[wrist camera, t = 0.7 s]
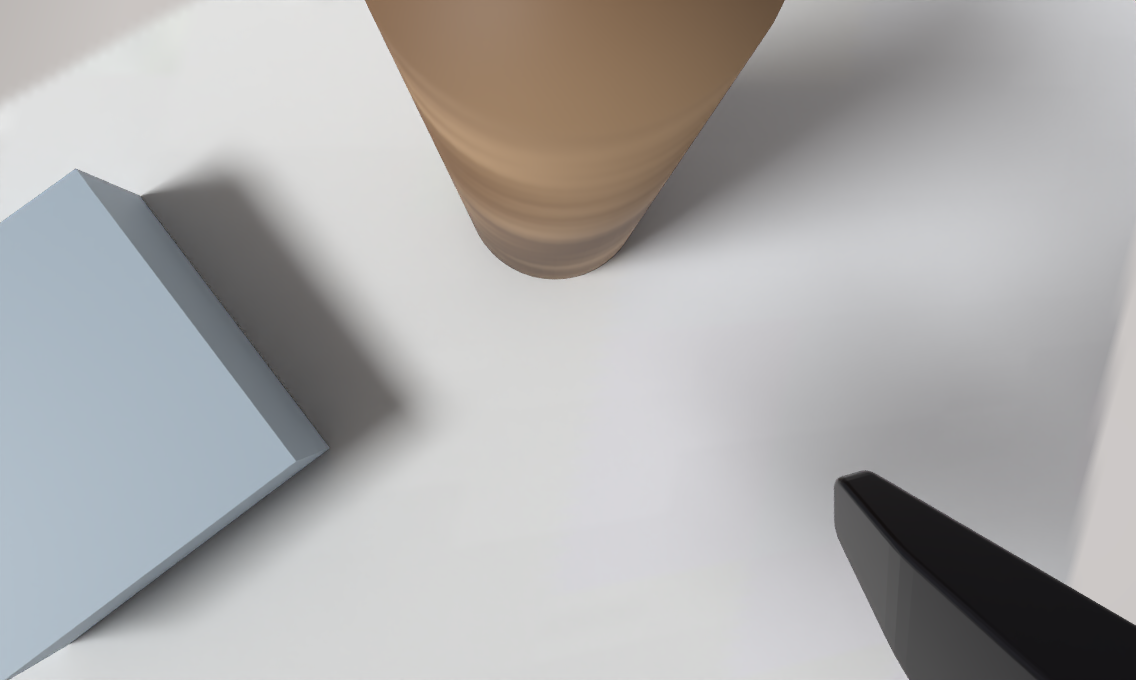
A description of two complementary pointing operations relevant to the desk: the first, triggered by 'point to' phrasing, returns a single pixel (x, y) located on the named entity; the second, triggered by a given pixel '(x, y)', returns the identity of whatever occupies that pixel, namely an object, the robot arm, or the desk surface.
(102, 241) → the pale blue square tile
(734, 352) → the desk surface
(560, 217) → the walnut pillar
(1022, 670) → the robot arm
